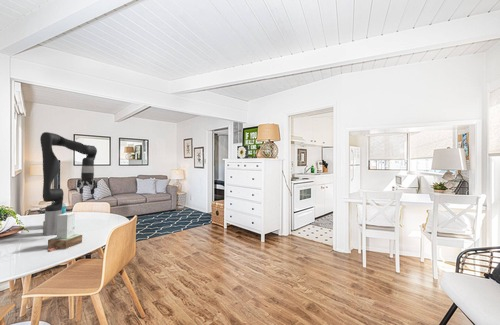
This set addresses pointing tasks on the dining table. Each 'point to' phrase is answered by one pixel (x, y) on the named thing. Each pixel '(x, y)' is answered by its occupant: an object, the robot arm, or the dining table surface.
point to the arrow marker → (52, 249)
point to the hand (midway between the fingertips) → (86, 193)
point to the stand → (65, 242)
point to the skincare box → (65, 225)
